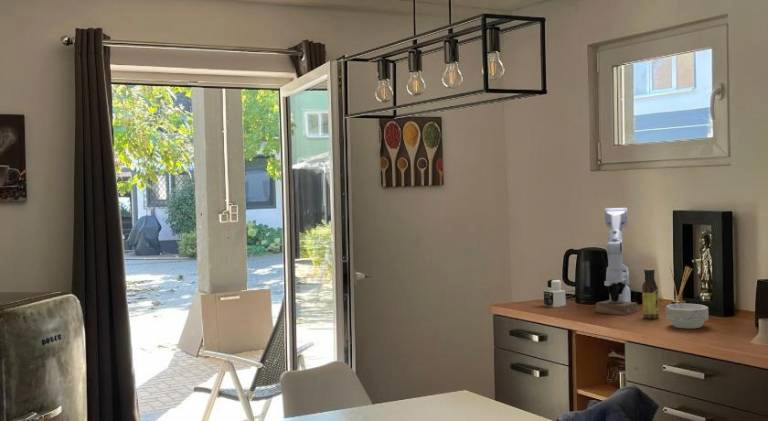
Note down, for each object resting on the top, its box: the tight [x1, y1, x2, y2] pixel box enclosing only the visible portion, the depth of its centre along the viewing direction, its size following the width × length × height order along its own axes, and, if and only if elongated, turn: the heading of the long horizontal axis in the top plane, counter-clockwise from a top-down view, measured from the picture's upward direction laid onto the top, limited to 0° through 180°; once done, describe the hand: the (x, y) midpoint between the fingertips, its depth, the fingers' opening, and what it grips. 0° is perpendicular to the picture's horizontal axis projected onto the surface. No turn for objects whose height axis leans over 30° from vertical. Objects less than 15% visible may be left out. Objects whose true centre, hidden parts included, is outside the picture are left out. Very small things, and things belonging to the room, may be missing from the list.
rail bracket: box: [608, 292, 622, 304], centre depth 358 cm, size 2×5×8 cm, turn 43°
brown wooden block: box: [595, 299, 638, 316], centre depth 358 cm, size 10×14×4 cm
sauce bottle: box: [641, 268, 660, 319], centre depth 340 cm, size 6×6×20 cm
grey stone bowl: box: [665, 303, 709, 330], centre depth 318 cm, size 15×15×8 cm
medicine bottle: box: [543, 278, 567, 308], centre depth 381 cm, size 7×7×12 cm
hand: (616, 300), depth 357 cm, fingers closed on rail bracket, 2 cm apart
